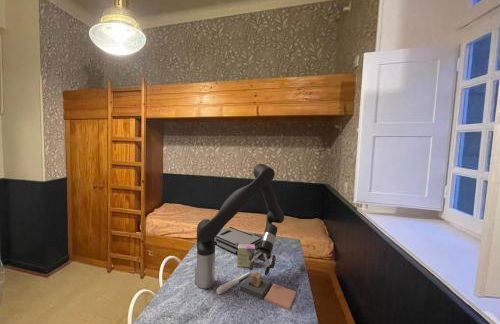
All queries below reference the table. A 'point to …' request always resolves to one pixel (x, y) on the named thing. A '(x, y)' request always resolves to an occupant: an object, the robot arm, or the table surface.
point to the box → (244, 254)
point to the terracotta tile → (280, 296)
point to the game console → (235, 240)
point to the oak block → (256, 280)
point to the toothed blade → (230, 284)
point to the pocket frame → (255, 291)
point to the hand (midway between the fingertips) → (258, 272)
